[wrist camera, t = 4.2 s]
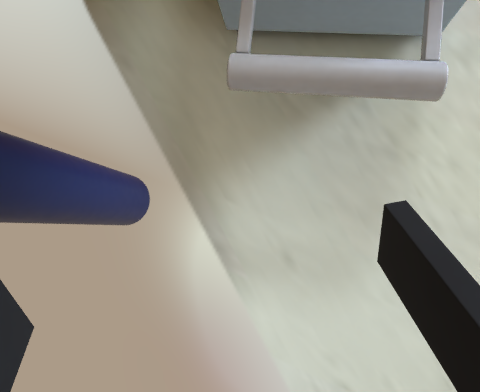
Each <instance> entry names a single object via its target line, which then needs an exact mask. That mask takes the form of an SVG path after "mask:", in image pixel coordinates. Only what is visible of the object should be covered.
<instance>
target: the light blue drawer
mask: <svg viewBox="0 0 480 392" xmlns="http://www.w3.org/2000/svg"><path fill="white" fill-rule="evenodd" d="M217 1H218V4H219V7H220V10H221V13H222V16H223V19H224V22H225V25H226V29H227V30H238V36H237V45H236V53H231V54H230V56H229V59H228V65H227V83H228V87H229V89H230V90H238V91H256V92H274V93H292V94H310V95H329V96H347V97H365V98H383V99H401V100H420V101H438V100H440V98H441V97H442V95H443V93H444V91H445V88H446V85H447V80H448V66H447V63H446V62H443V61H439V60H440V47H441V33H442V32H443V30H444V29H445V28H446V26H447V25H448V24H449V22H450V21H451V20H452V18H453V17H454V16H455V15H456V13H457V12H458V11H459V9H460V8H461V7H462V5H463V4H464V3H465V1H466V0H217ZM253 30H257V31H288V32H320V33H351V34H383V35H415V36H422V49H421V61H418V60H393V59H369V58H344V57H319V56H295V55H270V54H250V53H251V44H252V35H253Z"/></svg>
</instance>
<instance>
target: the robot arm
mask: <svg viewBox="0 0 480 392" xmlns="http://www.w3.org/2000/svg"><path fill="white" fill-rule="evenodd" d="M377 262H378V263H379V265H380V267H381V268H382V270H383V271H384V273H385V275H386V276H387V278H388V280H389V281H390V283H391V284H392V286H393V288H394V289H395V291H396V293H397V294H398V296H399V297H400V299H401V301H402V302H403V304H404V306H405V307H406V309H407V310H408V312H409V314H410V315H411V317H412V319H413V320H414V322H415V323H416V325H417V327H418V328H419V330H420V332H421V333H422V335H423V336H424V338H425V340H426V341H427V343H428V345H429V346H430V348H431V349H432V351H433V353H434V354H435V356H436V358H437V359H438V361H439V362H440V364H441V366H442V367H443V369H444V371H445V372H446V374H447V375H448V377H449V379H450V380H451V382H452V384H453V385H454V387H455V388H456V390H457V392H480V285H479V284H478V283H477V282H476V281H475V280H474V278H473V277H472V276H471V275H470V274H469V273H468V271H467V270H466V269H465V268H464V267H463V266H462V264H461V263H460V262H459V261H458V260H457V259H456V258H455V256H454V255H453V254H452V253H451V252H450V251H449V249H448V248H447V247H446V246H445V245H444V244H443V243H442V241H441V240H440V239H439V238H438V237H437V236H436V234H435V233H434V232H433V231H432V230H431V229H430V228H429V226H428V225H427V224H426V223H425V222H424V221H423V219H422V218H421V217H420V216H419V215H418V214H417V213H416V211H415V210H414V209H413V208H412V207H411V206H410V204H409V203H408V202H407V201H406V200H405V201H400V202H394V203H389V204H384V211H383V219H382V228H381V236H380V244H379V252H378V260H377ZM33 329H34V326H33V325H32V323H31V322H30V321H29V319H28V318H27V316H26V315H25V313H24V312H23V311H22V309H21V308H20V307H19V305H18V304H17V302H16V301H15V300H14V298H13V297H12V295H11V294H10V293H9V291H8V290H7V288H6V287H5V286H4V284H3V283H2V281H1V280H0V392H10V391H11V388H12V386H13V383H14V380H15V377H16V375H17V372H18V369H19V367H20V364H21V361H22V358H23V356H24V353H25V350H26V347H27V345H28V342H29V339H30V337H31V334H32V331H33Z"/></svg>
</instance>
